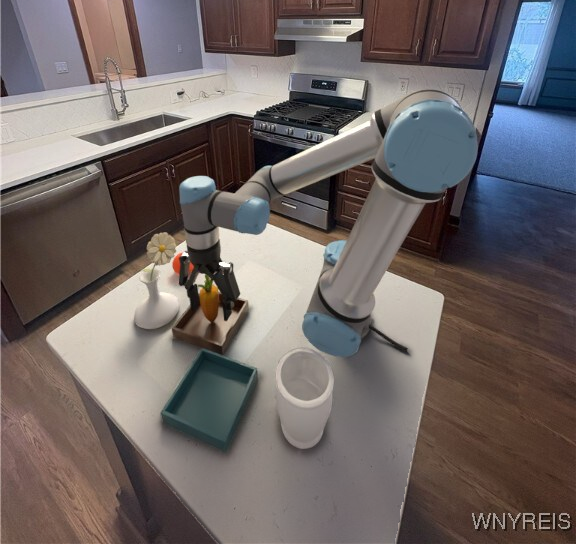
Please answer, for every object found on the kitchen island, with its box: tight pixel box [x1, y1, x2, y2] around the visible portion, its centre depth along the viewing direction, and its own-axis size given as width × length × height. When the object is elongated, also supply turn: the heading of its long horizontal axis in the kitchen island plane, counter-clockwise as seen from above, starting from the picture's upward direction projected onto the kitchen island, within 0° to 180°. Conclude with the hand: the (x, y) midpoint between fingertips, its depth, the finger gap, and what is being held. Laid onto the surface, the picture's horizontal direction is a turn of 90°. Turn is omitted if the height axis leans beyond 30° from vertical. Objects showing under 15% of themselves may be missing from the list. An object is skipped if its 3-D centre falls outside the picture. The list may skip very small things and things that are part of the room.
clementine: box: [172, 251, 194, 275], centre depth 98 cm, size 8×7×7 cm
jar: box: [275, 347, 335, 450], centre depth 59 cm, size 11×10×15 cm
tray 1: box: [171, 291, 250, 356], centre depth 82 cm, size 14×14×3 cm
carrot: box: [197, 274, 220, 323], centre depth 80 cm, size 5×5×15 cm
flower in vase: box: [133, 231, 180, 330], centre depth 81 cm, size 13×11×25 cm
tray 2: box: [160, 348, 259, 453], centre depth 65 cm, size 14×14×3 cm
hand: (211, 311), depth 81 cm, fingers open, 9 cm apart
